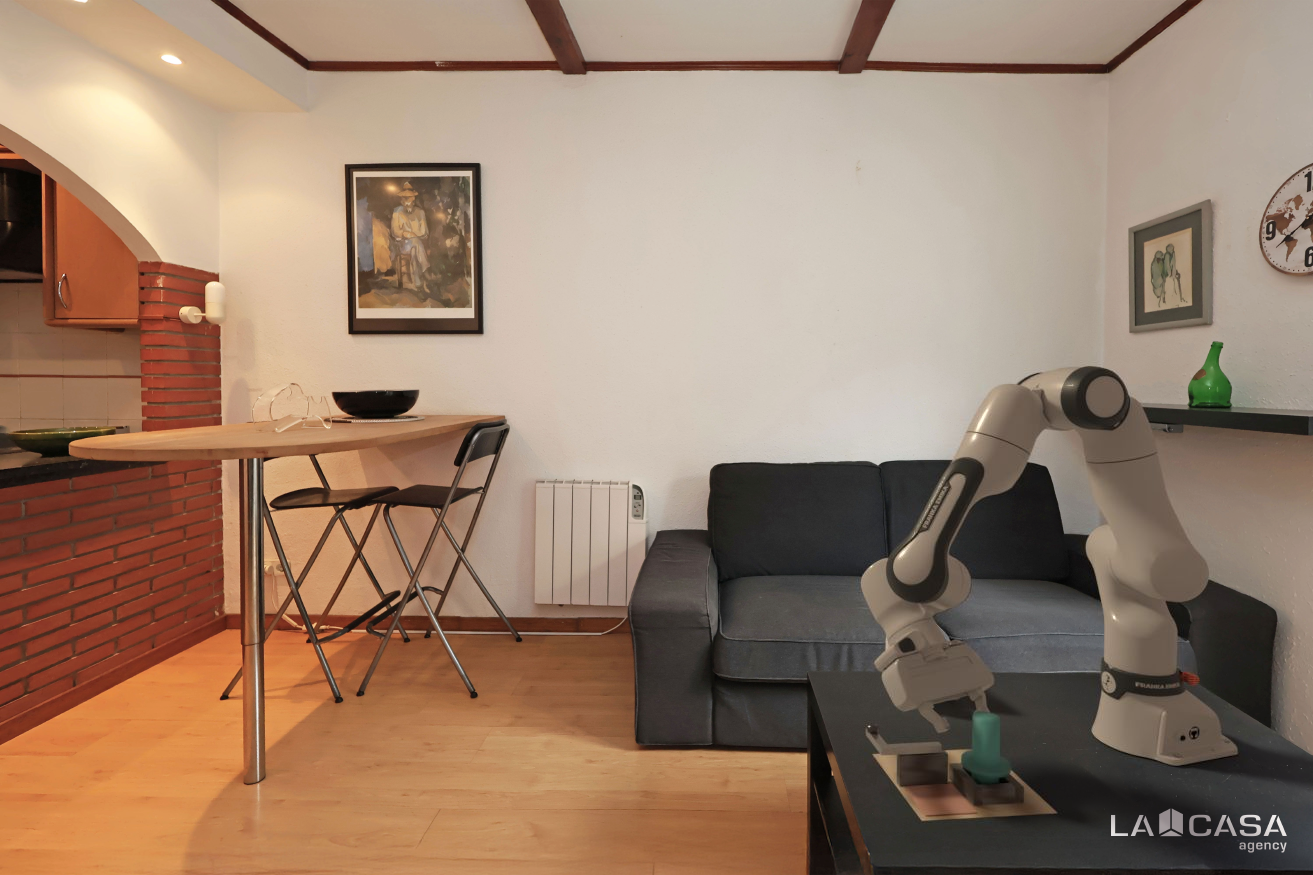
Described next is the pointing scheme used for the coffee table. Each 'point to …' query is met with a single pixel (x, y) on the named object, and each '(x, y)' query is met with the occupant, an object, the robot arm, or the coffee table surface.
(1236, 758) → the coffee table surface
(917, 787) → the socket board
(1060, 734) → the coffee table surface
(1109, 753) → the coffee table surface
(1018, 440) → the robot arm
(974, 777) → the plug
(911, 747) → the lever
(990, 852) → the coffee table surface
